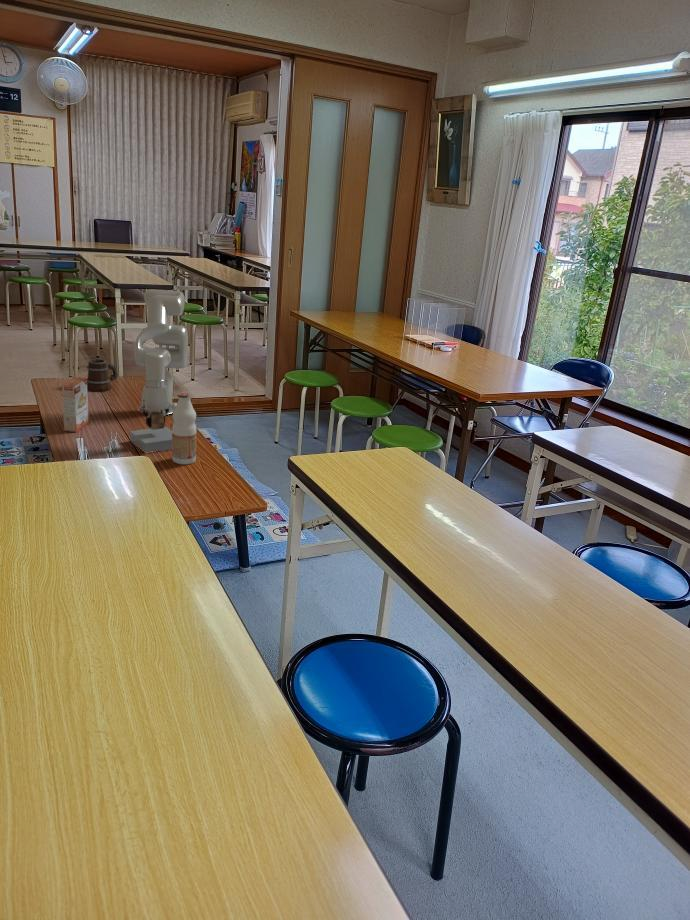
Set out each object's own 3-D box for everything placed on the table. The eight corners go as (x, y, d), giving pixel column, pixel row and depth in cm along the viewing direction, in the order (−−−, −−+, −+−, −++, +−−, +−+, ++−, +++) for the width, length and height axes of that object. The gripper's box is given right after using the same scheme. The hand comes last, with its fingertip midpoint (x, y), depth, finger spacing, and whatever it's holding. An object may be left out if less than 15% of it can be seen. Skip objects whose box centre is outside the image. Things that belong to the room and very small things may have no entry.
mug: (90, 392, 345) (88, 364, 340) (84, 386, 354) (82, 358, 349) (121, 390, 354) (120, 362, 348) (114, 384, 363) (113, 357, 357)
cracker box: (77, 432, 291) (74, 385, 283) (63, 431, 291) (60, 384, 283) (89, 422, 304) (87, 377, 296) (76, 421, 304) (73, 376, 296)
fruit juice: (176, 466, 266) (176, 397, 256) (168, 457, 274) (168, 391, 264) (199, 463, 271) (200, 396, 261) (191, 455, 278) (191, 389, 268)
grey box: (166, 437, 296) (165, 426, 295) (181, 449, 285) (181, 438, 283) (130, 442, 287) (130, 431, 285) (145, 454, 275) (145, 443, 274)
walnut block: (159, 424, 286) (158, 411, 284) (163, 428, 282) (163, 414, 280) (147, 426, 283) (147, 412, 281) (152, 429, 279) (152, 415, 277)
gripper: (171, 379, 284) (171, 420, 290) (131, 382, 274) (132, 425, 280) (178, 383, 278) (178, 425, 285) (138, 387, 268) (139, 430, 275)
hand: (155, 424), depth 282 cm, fingers closed on walnut block, 5 cm apart
